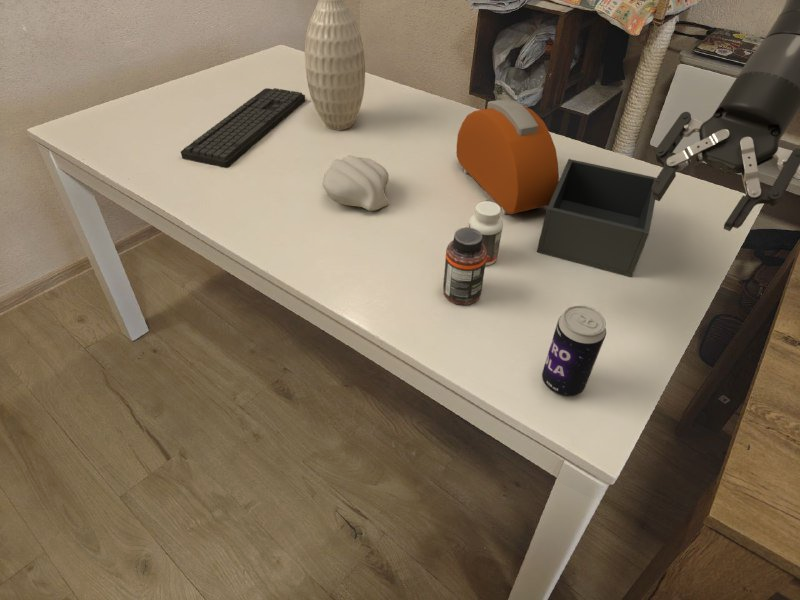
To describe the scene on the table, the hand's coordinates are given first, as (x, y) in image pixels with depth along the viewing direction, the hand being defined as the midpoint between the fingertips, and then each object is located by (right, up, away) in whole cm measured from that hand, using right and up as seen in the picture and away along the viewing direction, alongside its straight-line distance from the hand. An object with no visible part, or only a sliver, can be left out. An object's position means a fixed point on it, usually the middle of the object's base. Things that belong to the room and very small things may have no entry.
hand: (690, 212), depth 64 cm
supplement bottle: (-25, -9, +21) cm, 34 cm away
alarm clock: (-14, +12, +43) cm, 47 cm away
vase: (-48, +30, +63) cm, 85 cm away
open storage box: (0, +1, +32) cm, 32 cm away
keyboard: (-69, +29, +61) cm, 97 cm away
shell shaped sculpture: (-42, +9, +40) cm, 59 cm away
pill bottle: (-20, -3, +28) cm, 35 cm away
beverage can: (-13, -21, +9) cm, 26 cm away
